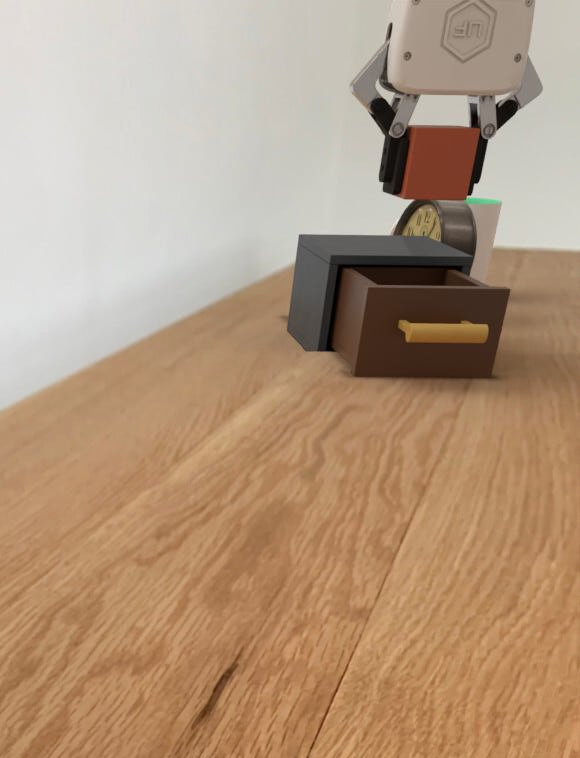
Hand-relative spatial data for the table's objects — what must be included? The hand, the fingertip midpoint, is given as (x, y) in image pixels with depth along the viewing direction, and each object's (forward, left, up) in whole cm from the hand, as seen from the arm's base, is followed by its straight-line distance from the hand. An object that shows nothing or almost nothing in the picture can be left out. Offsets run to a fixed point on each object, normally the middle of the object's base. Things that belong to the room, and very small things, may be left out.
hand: (426, 191), depth 90 cm
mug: (-16, -42, -15) cm, 47 cm away
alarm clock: (-11, -28, -15) cm, 33 cm away
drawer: (-1, +1, -14) cm, 14 cm away
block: (0, 0, 0) cm, 0 cm away
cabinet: (-1, -13, -15) cm, 19 cm away
